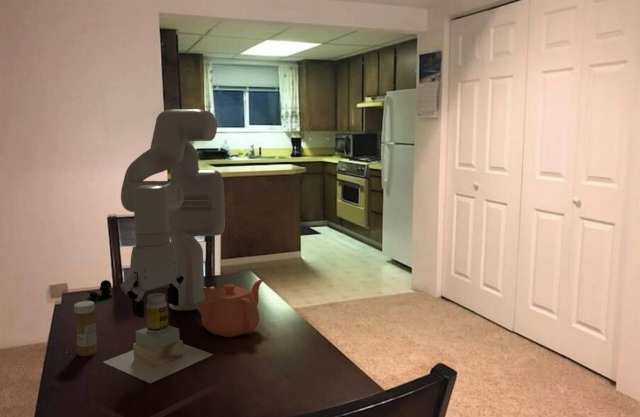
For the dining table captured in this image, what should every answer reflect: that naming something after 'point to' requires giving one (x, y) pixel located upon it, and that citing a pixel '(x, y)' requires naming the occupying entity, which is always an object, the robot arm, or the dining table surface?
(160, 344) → the sage block
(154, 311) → the supplement bottle
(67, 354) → the dining table surface
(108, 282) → the toy figurine
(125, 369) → the base plate
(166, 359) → the birch block
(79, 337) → the sprinkles bottle
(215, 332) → the teapot
